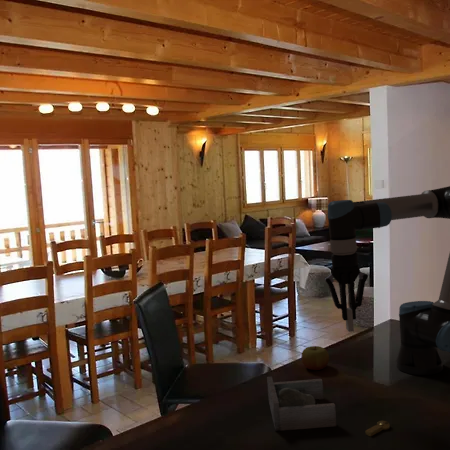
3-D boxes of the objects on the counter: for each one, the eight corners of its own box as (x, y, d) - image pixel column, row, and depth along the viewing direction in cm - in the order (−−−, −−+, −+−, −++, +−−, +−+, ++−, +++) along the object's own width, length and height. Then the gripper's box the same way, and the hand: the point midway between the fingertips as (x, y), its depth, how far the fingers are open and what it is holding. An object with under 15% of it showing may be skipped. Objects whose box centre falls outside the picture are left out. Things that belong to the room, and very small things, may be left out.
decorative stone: (293, 431, 141) (312, 399, 142) (264, 408, 148) (281, 378, 149) (310, 434, 151) (327, 404, 152) (281, 412, 158) (298, 384, 159)
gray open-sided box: (322, 397, 161) (321, 372, 160) (336, 426, 142) (334, 398, 141) (268, 401, 161) (267, 376, 160) (275, 431, 142) (273, 403, 141)
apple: (329, 362, 189) (328, 341, 189) (330, 373, 180) (328, 350, 179) (302, 363, 191) (301, 342, 190) (301, 373, 182) (300, 351, 181)
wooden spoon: (382, 423, 142) (382, 419, 142) (392, 427, 139) (391, 423, 139) (363, 433, 137) (363, 429, 137) (373, 438, 135) (372, 433, 135)
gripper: (361, 248, 155) (367, 324, 157) (319, 253, 155) (325, 328, 157) (369, 252, 148) (375, 331, 150) (325, 257, 147) (331, 336, 149)
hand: (350, 330), depth 153 cm, fingers closed
